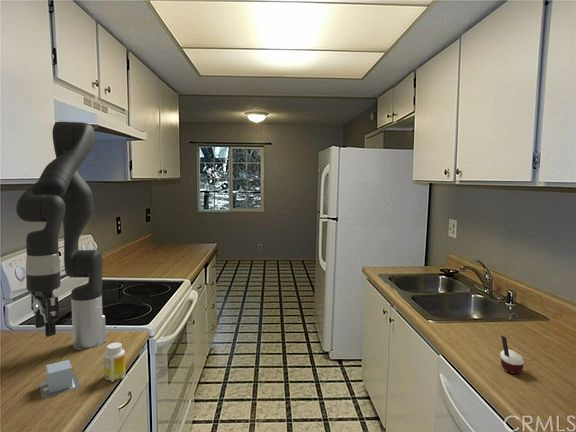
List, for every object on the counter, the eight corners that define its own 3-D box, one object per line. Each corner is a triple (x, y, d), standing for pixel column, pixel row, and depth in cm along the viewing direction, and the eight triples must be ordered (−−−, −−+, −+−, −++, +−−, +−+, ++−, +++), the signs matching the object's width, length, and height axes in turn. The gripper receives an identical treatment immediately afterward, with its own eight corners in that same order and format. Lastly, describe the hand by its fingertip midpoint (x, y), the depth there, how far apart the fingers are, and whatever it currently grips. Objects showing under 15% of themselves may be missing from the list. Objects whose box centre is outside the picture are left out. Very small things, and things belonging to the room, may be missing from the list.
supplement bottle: (128, 373, 113) (127, 340, 112) (121, 384, 107) (121, 349, 106) (108, 374, 112) (107, 341, 111) (101, 384, 107) (100, 350, 106)
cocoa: (518, 367, 123) (522, 332, 122) (530, 377, 117) (535, 339, 116) (489, 365, 123) (493, 329, 122) (499, 375, 117) (504, 337, 116)
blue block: (47, 383, 105) (46, 365, 104) (69, 377, 108) (69, 359, 108) (49, 393, 100) (48, 373, 100) (72, 386, 104) (71, 367, 103)
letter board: (39, 385, 105) (39, 383, 105) (75, 376, 111) (75, 373, 111) (42, 401, 98) (41, 398, 98) (81, 390, 103) (80, 387, 103)
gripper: (69, 273, 97) (70, 334, 98) (50, 264, 106) (52, 321, 107) (35, 278, 91) (37, 343, 92) (18, 268, 101) (20, 328, 102)
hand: (45, 331), depth 100 cm, fingers open, 8 cm apart
